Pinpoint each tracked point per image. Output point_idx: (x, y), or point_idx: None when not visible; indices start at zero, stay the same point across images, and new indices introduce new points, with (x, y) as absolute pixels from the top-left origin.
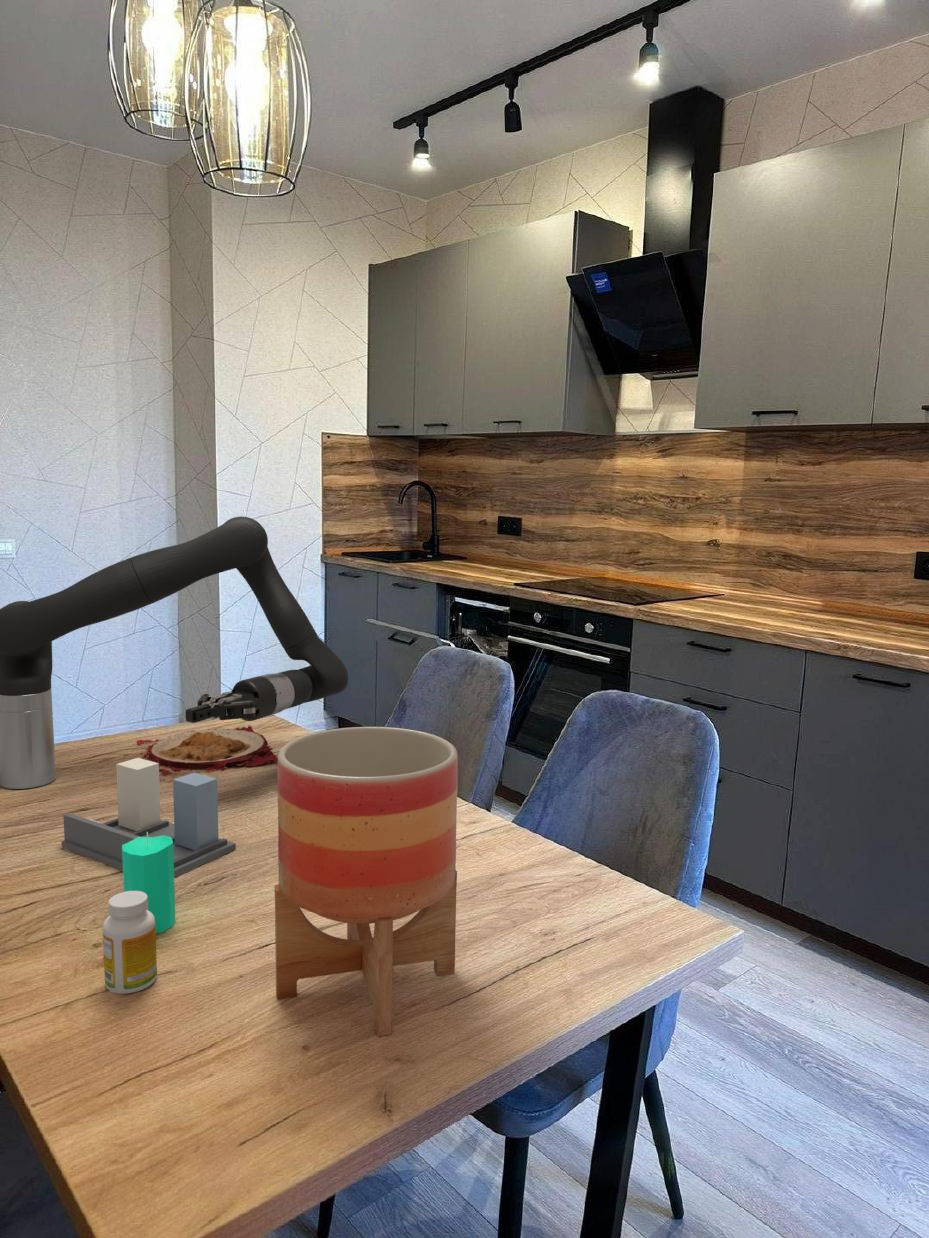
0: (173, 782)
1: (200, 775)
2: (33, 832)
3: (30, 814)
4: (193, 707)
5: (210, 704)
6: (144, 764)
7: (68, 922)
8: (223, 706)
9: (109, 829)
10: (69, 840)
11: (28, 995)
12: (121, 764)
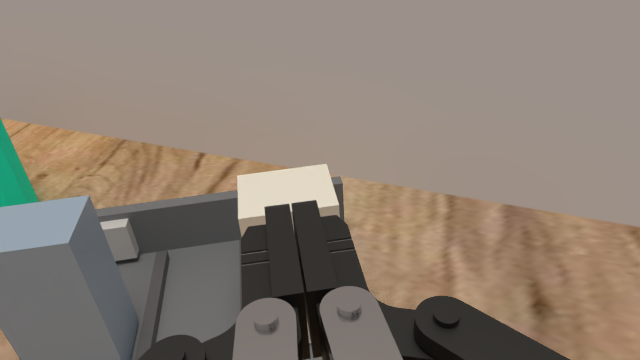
0: (90, 202)
1: (30, 243)
2: (449, 216)
3: (561, 235)
4: (322, 230)
5: (287, 316)
6: (263, 196)
7: (114, 173)
8: (145, 353)
9: (203, 196)
10: None
11: (44, 133)
12: (313, 169)
